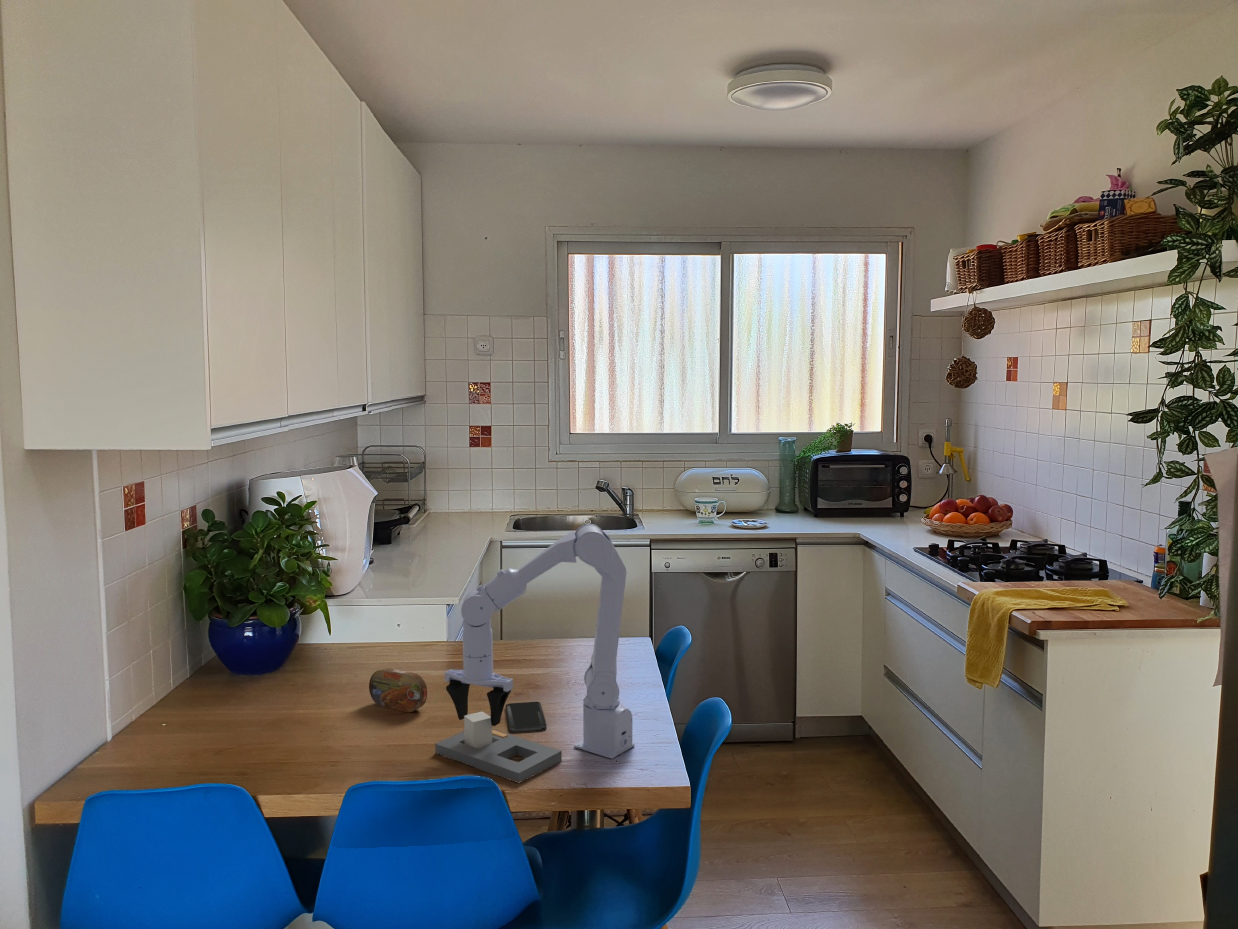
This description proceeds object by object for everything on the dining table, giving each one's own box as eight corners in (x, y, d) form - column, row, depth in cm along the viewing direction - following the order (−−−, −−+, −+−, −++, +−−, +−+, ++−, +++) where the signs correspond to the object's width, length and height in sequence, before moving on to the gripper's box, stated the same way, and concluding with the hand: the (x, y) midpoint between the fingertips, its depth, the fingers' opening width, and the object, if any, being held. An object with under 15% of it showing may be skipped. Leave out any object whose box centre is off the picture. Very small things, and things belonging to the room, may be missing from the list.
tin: (368, 704, 199) (367, 667, 198) (378, 699, 202) (377, 663, 201) (420, 716, 192) (419, 678, 191) (430, 711, 195) (429, 674, 194)
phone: (509, 729, 183) (505, 703, 198) (509, 735, 183) (505, 708, 198) (547, 727, 184) (540, 701, 199) (547, 732, 184) (540, 706, 199)
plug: (492, 752, 174) (491, 717, 173) (473, 757, 171) (473, 722, 171) (482, 745, 177) (482, 711, 176) (464, 750, 175) (463, 715, 174)
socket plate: (561, 760, 170) (561, 749, 169) (519, 783, 160) (518, 772, 160) (479, 733, 182) (479, 723, 182) (435, 753, 173) (435, 742, 173)
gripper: (520, 652, 173) (521, 719, 174) (458, 643, 179) (460, 708, 180) (501, 662, 167) (502, 732, 168) (437, 653, 172) (439, 720, 174)
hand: (479, 721), depth 174 cm, fingers open, 7 cm apart
